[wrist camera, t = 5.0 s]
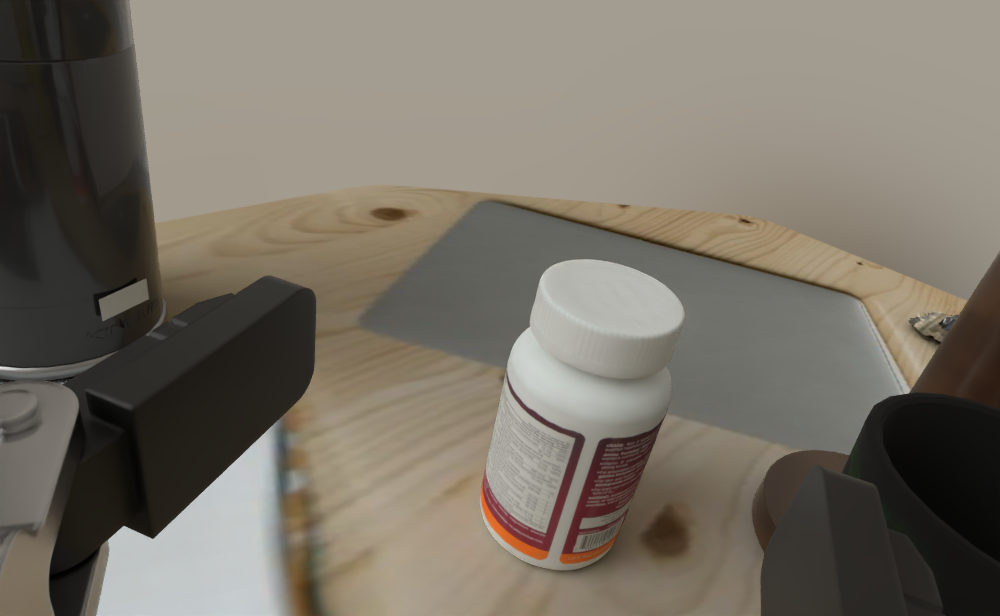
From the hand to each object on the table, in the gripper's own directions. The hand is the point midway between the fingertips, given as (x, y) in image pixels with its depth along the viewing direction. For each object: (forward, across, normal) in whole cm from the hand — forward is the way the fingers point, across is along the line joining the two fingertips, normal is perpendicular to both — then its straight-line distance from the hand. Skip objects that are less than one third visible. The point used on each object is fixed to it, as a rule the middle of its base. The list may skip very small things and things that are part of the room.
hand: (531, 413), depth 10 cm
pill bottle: (+12, 0, +15) cm, 20 cm away
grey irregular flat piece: (+45, -24, +15) cm, 53 cm away
